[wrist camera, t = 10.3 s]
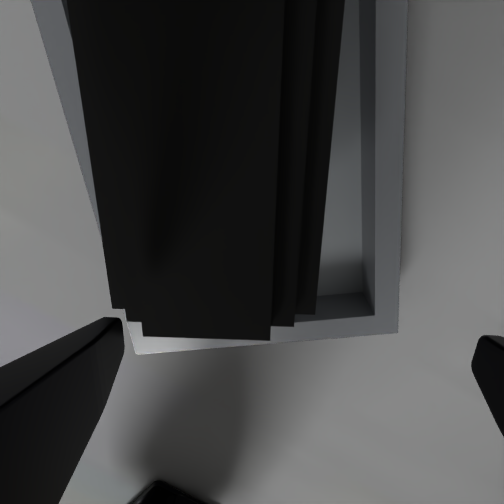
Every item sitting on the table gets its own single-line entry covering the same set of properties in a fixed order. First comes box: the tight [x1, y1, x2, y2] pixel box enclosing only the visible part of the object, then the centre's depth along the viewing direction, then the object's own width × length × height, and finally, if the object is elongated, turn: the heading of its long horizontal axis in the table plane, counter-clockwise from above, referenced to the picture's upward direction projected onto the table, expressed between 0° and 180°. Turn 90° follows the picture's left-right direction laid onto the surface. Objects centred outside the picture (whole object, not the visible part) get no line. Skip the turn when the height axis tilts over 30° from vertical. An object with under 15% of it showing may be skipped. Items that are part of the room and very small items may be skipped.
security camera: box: [66, 0, 345, 341], centre depth 13 cm, size 7×18×10 cm, turn 179°
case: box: [31, 0, 408, 355], centre depth 13 cm, size 27×14×10 cm, turn 7°
